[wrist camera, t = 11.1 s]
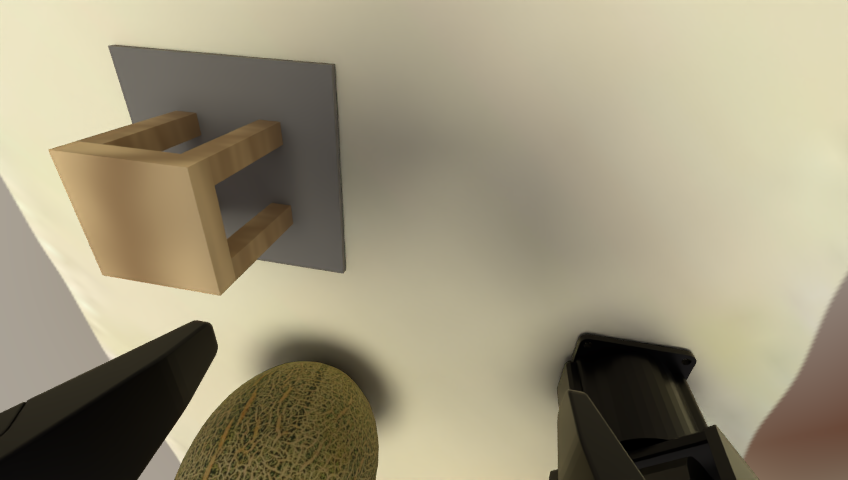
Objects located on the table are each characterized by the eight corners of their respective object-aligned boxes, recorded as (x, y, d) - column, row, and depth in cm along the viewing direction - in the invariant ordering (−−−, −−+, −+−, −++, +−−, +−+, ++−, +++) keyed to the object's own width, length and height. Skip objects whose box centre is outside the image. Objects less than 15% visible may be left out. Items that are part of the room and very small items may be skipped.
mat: (334, 64, 19) (331, 65, 19) (345, 269, 25) (343, 273, 25) (114, 44, 21) (108, 45, 20) (175, 242, 27) (170, 245, 27)
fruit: (259, 404, 34) (112, 637, 22) (257, 308, 29) (53, 549, 16) (386, 444, 34) (311, 707, 21) (411, 353, 28) (327, 642, 15)
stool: (280, 121, 21) (187, 167, 15) (293, 223, 24) (220, 295, 18) (176, 110, 22) (48, 149, 16) (201, 210, 25) (102, 275, 19)
